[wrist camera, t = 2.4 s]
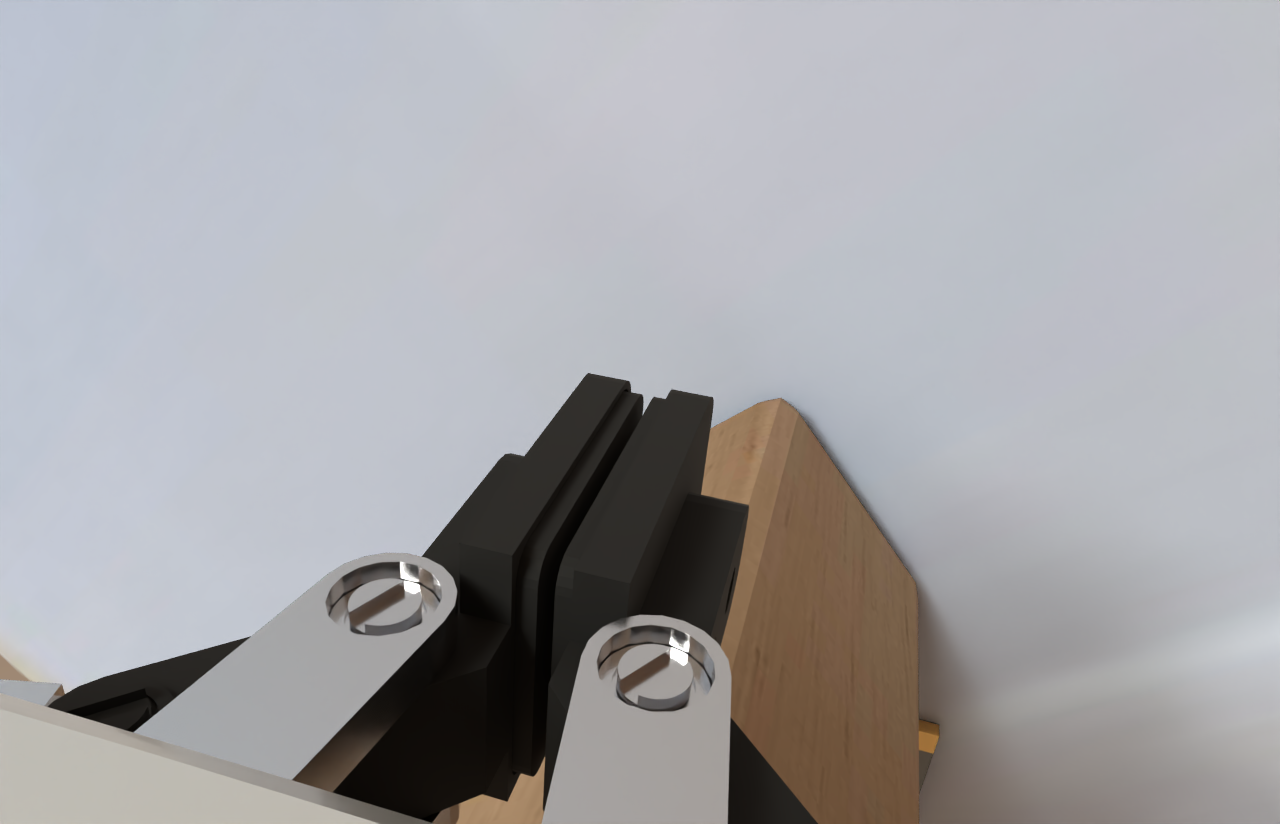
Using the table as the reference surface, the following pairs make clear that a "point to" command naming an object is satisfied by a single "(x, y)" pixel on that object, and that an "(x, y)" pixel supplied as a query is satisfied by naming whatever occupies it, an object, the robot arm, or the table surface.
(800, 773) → the block
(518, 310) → the table surface
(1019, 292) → the table surface
